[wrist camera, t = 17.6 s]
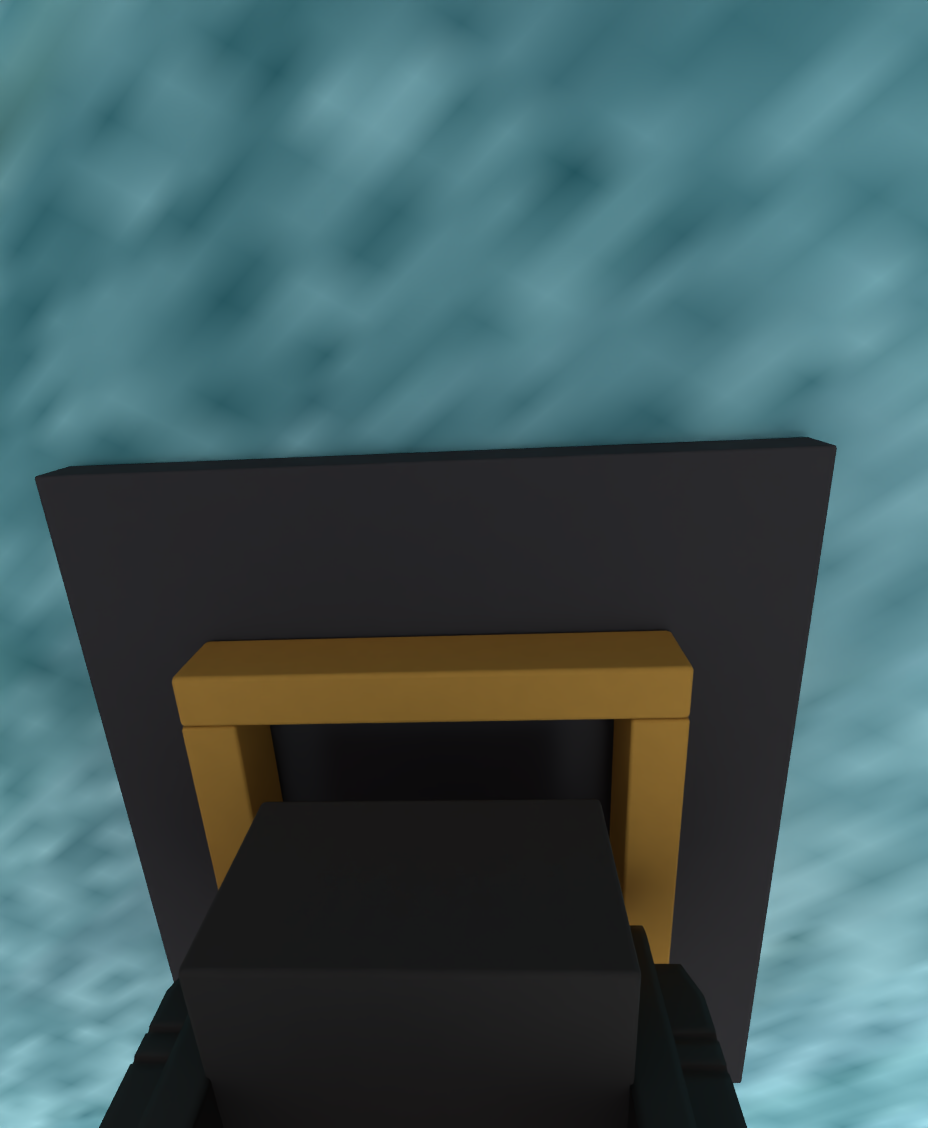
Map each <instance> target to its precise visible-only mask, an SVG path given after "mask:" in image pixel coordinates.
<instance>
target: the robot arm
mask: <svg viewBox="0 0 928 1128" xmlns="http://www.w3.org/2000/svg"><path fill="white" fill-rule="evenodd" d="M630 929H631V933H632V938H633V942H634V946H635V950H636V955H637V959H638V963H639V967H640V972H641V986H640V1001H639V1016H638V1031H637V1046H636V1061H635V1076H634V1083H633V1084H632V1085H630V1100H629V1116H628V1128H747V1126H746V1123H745V1120H744V1117H743V1113H742V1110H741V1107H740V1104H739V1101H738V1098H737V1095H736V1092H735V1089H734V1086H733V1083H732V1080H731V1076H730V1074H728V1071H727V1064H726V1061H725V1058H724V1055H723V1052H722V1049H721V1046H720V1043H719V1041H718V1040H717V1035H716V1034H717V1033H716V1030H715V1027H714V1024H713V1021H712V1018H711V1015H710V1012H709V1009H708V1006H707V1003H706V1000H705V996H704V995H703V993H702V992H701V991H700V989H699V988H698V987H697V985H696V984H695V982H694V981H693V980H692V978H691V977H690V976H689V974H688V973H687V972H686V970H685V969H684V968H683V966H682V965H681V964H654V961H653V957H652V953H651V949H650V946H649V942H648V938H647V935H646V932H645V929H644V927H643V926H642V925H630ZM134 1057H135V1058H134V1062H133V1064H130V1066H129V1068H128V1070H127V1072H126V1074H125V1076H124V1078H123V1080H122V1082H121V1084H120V1086H119V1088H118V1090H117V1092H116V1094H115V1096H114V1098H113V1100H112V1102H111V1104H110V1106H109V1108H108V1110H107V1112H106V1114H105V1116H104V1118H103V1120H102V1122H101V1125H100V1127H99V1128H223V1124H222V1120H221V1117H220V1113H219V1109H218V1106H217V1102H216V1098H215V1095H214V1091H213V1087H212V1083H211V1080H210V1079H209V1078H207V1077H206V1076H205V1072H204V1068H203V1065H202V1061H201V1057H200V1054H199V1050H198V1047H197V1043H196V1039H195V1036H194V1032H193V1028H192V1025H191V1021H190V1017H189V1014H188V1010H187V1006H186V1003H185V999H184V995H183V992H182V988H181V984H180V981H179V978H178V979H177V980H176V981H175V982H174V983H173V985H172V986H171V987H170V988H169V989H168V990H167V992H166V994H165V996H164V998H163V1000H162V1002H161V1004H160V1006H159V1008H158V1010H157V1012H156V1014H155V1016H154V1018H153V1020H152V1022H151V1024H150V1026H149V1032H148V1033H146V1034H145V1036H144V1038H143V1040H142V1042H141V1044H140V1046H139V1048H138V1050H137V1052H136V1054H135V1056H134Z"/></svg>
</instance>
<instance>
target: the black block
mask: <svg viewBox="0 0 928 1128" xmlns="http://www.w3.org/2000/svg"><path fill="white" fill-rule="evenodd" d="M178 977H179V981H180V984H181V988H182V992H183V995H184V999H185V1003H186V1006H187V1010H188V1014H189V1017H190V1021H191V1025H192V1028H193V1032H194V1036H195V1039H196V1043H197V1047H198V1050H199V1054H200V1057H201V1061H202V1065H203V1068H204V1072H205V1076H206V1077H207V1078H209V1079H210V1080H211V1083H212V1087H213V1091H214V1095H215V1098H216V1102H217V1106H218V1109H219V1113H220V1117H221V1120H222V1124H223V1128H628V1116H629V1100H630V1085H632V1084H633V1083H634V1076H635V1061H636V1046H637V1031H638V1016H639V1001H640V986H641V972H640V967H639V963H638V959H637V955H636V950H635V946H634V942H633V938H632V933H631V929H630V925H629V921H628V916H627V912H626V908H625V904H624V899H623V895H622V891H621V887H620V882H619V878H618V874H617V870H616V865H615V861H614V857H613V852H612V848H611V844H610V840H609V835H608V831H607V827H606V823H605V818H604V814H603V810H602V806H601V803H600V801H599V800H597V799H536V800H414V801H293V802H264V803H262V804H261V806H260V808H259V810H258V812H257V814H256V816H255V818H254V820H253V822H252V824H251V826H250V828H249V830H248V832H247V834H246V836H245V838H244V840H243V842H242V844H241V846H240V848H239V850H238V852H237V854H236V856H235V858H234V860H233V862H232V864H231V866H230V868H229V870H228V872H227V874H226V876H225V878H224V880H223V882H222V884H221V886H220V888H219V890H218V892H217V894H216V896H215V898H214V900H213V902H212V904H211V906H210V908H209V910H208V912H207V914H206V916H205V918H204V920H203V922H202V924H201V926H200V928H199V930H198V932H197V934H196V936H195V938H194V940H193V942H192V944H191V946H190V948H189V950H188V952H187V954H186V956H185V958H184V960H183V962H182V964H181V966H180V969H179V975H178Z"/></svg>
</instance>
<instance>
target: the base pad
mask: <svg viewBox="0 0 928 1128" xmlns="http://www.w3.org/2000/svg"><path fill="white" fill-rule="evenodd" d="M836 449H837V448H836V446H835V445H832V444H829V443H825V442H822V441H819V440H815V439H812V438H809V437H805V438H780V439H754V440H729V441H704V442H678V443H653V444H627V445H602V446H577V447H551V448H526V449H501V450H475V451H450V452H425V453H399V454H374V455H348V456H323V457H298V458H272V459H247V460H222V461H196V462H171V463H145V464H120V465H95V466H69V467H66V468H62V469H59V470H56V471H52V472H49V473H46V474H42V475H39V476H36V477H35V481H36V484H37V488H38V492H39V495H40V499H41V503H42V506H43V510H44V513H45V517H46V521H47V524H48V528H49V532H50V535H51V539H52V542H53V546H54V550H55V553H56V557H57V561H58V564H59V568H60V571H61V575H62V579H63V582H64V586H65V589H66V593H67V597H68V600H69V604H70V608H71V611H72V615H73V618H74V622H75V626H76V629H77V633H78V637H79V640H80V644H81V647H82V651H83V655H84V658H85V662H86V666H87V669H88V673H89V676H90V680H91V684H92V687H93V691H94V694H95V698H96V702H97V705H98V709H99V713H100V716H101V720H102V723H103V727H104V731H105V734H106V738H107V742H108V745H109V749H110V752H111V756H112V760H113V763H114V767H115V771H116V774H117V778H118V781H119V785H120V789H121V792H122V796H123V799H124V803H125V807H126V810H127V814H128V818H129V821H130V825H131V828H132V832H133V836H134V839H135V843H136V847H137V850H138V854H139V857H140V861H141V865H142V868H143V872H144V876H145V879H146V883H147V886H148V890H149V894H150V897H151V901H152V904H153V908H154V912H155V915H156V919H157V923H158V926H159V930H160V933H161V937H162V941H163V944H164V948H165V952H166V955H167V959H168V962H169V966H170V970H171V973H172V977H173V981H174V982H175V981H176V980H177V979H178V978H179V977H178V975H179V969H180V966H181V964H182V962H183V960H184V958H185V956H186V954H187V952H188V950H189V948H190V946H191V944H192V942H193V940H194V938H195V936H196V934H197V932H198V930H199V928H200V926H201V924H202V922H203V920H204V918H205V916H206V914H207V912H208V910H209V908H210V906H211V904H212V902H213V900H214V898H215V896H216V894H217V892H218V890H219V888H220V886H221V884H222V882H223V880H224V878H225V876H226V874H227V872H228V870H229V868H230V866H231V864H232V862H233V860H234V858H235V856H236V854H237V852H238V850H239V848H240V846H241V844H242V842H243V840H244V838H245V836H246V834H247V832H248V830H249V828H250V826H251V824H252V822H253V820H254V818H255V816H256V814H257V812H258V810H259V808H260V806H261V804H262V803H264V802H293V801H414V800H536V799H597V800H599V801H600V803H601V806H602V810H603V814H604V818H605V823H606V827H607V831H608V835H609V840H610V844H611V848H612V852H613V857H614V861H615V865H616V870H617V874H618V878H619V882H620V887H621V891H622V895H623V899H624V904H625V908H626V912H627V916H628V921H629V925H642V926H643V927H644V929H645V932H646V935H647V938H648V942H649V946H650V949H651V953H652V957H653V961H654V964H681V965H682V966H683V968H684V969H685V970H686V972H687V973H688V974H689V976H690V977H691V978H692V980H693V981H694V982H695V984H696V985H697V987H698V988H699V989H700V991H701V992H702V993H703V995H704V996H705V1000H706V1003H707V1006H708V1009H709V1012H710V1015H711V1018H712V1021H713V1024H714V1027H715V1030H716V1033H717V1034H716V1035H717V1040H718V1041H719V1043H720V1046H721V1049H722V1052H723V1055H724V1058H725V1061H726V1064H727V1071H728V1074H730V1076H731V1080H732V1083H740V1082H741V1079H742V1072H743V1066H744V1059H745V1052H746V1046H747V1039H748V1032H749V1026H750V1019H751V1013H752V1006H753V999H754V993H755V986H756V979H757V973H758V966H759V960H760V953H761V946H762V940H763V933H764V926H765V920H766V913H767V907H768V900H769V893H770V887H771V880H772V873H773V867H774V860H775V854H776V847H777V840H778V834H779V827H780V820H781V814H782V807H783V801H784V794H785V787H786V781H787V774H788V767H789V761H790V754H791V748H792V741H793V734H794V728H795V721H796V714H797V708H798V701H799V695H800V688H801V681H802V675H803V668H804V661H805V655H806V648H807V642H808V635H809V628H810V622H811V615H812V608H813V602H814V595H815V589H816V582H817V575H818V569H819V562H820V555H821V549H822V542H823V535H824V529H825V522H826V516H827V509H828V502H829V496H830V489H831V482H832V476H833V469H834V463H835V456H836Z"/></svg>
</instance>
